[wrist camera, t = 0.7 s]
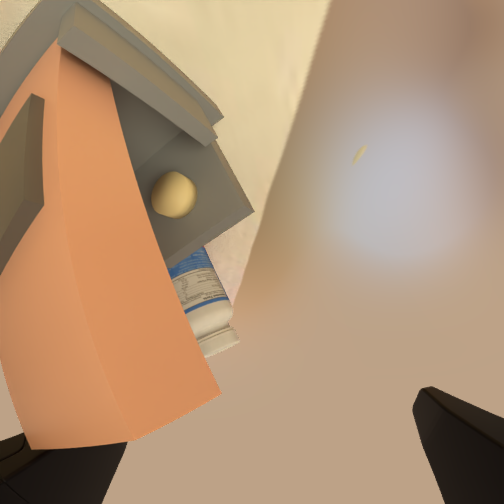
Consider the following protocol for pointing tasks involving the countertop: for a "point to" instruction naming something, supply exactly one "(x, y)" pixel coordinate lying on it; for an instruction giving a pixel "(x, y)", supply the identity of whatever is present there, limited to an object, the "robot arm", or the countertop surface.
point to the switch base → (142, 119)
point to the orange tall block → (85, 273)
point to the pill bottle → (204, 302)
